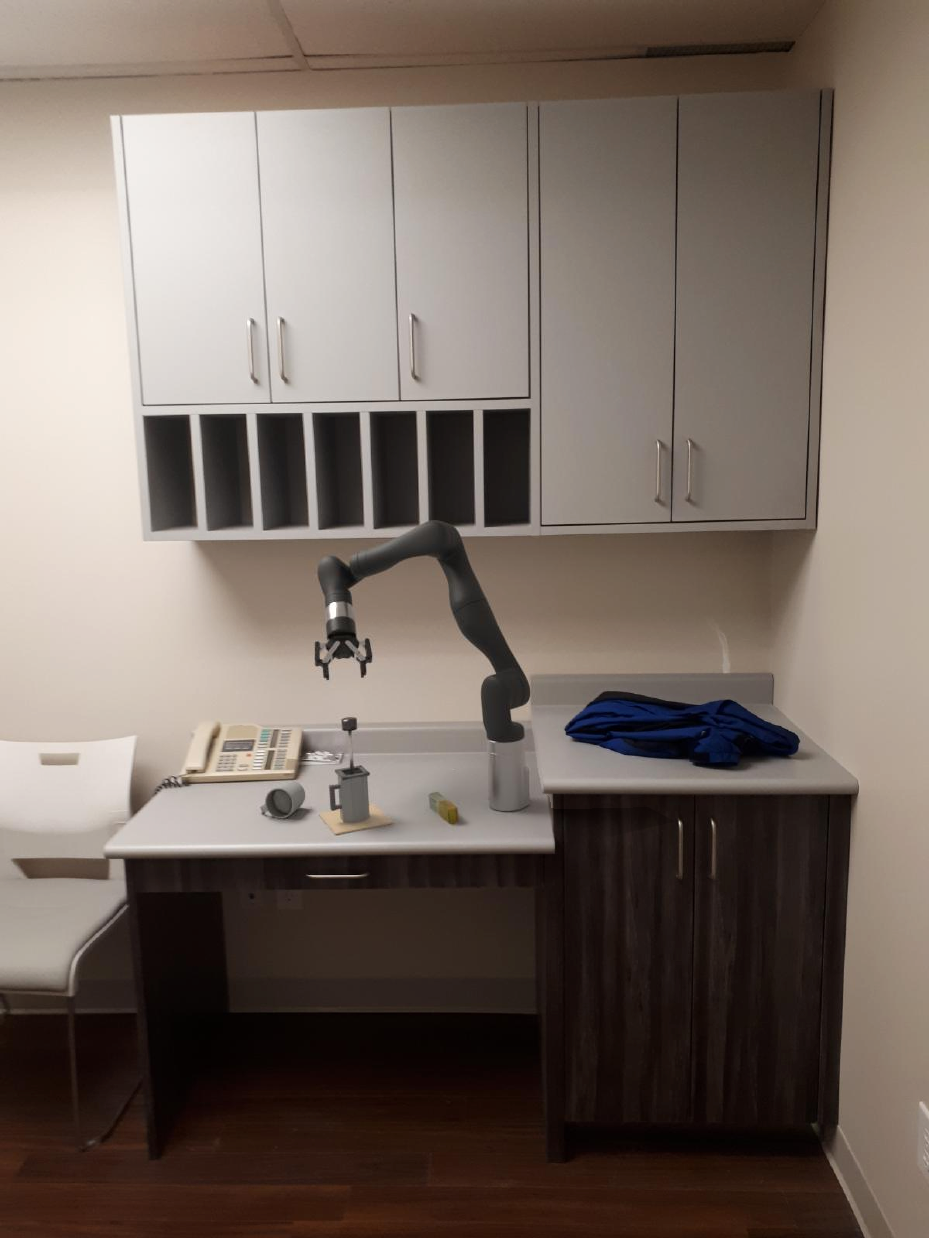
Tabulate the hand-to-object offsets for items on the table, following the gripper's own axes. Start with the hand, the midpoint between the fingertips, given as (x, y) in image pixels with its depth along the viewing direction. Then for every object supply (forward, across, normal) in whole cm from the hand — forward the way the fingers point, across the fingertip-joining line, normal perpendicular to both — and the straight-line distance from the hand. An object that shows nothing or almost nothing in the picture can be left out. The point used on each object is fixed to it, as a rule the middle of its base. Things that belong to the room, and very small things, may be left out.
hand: (345, 677), depth 222 cm
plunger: (+23, 0, -7) cm, 24 cm away
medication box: (+33, -21, -12) cm, 42 cm away
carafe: (+31, 0, -14) cm, 34 cm away
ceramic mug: (+25, +17, -22) cm, 37 cm away
